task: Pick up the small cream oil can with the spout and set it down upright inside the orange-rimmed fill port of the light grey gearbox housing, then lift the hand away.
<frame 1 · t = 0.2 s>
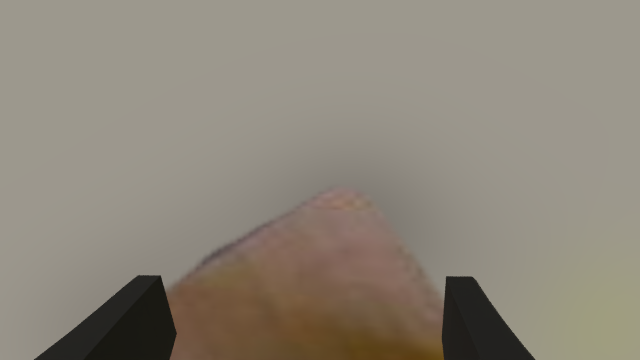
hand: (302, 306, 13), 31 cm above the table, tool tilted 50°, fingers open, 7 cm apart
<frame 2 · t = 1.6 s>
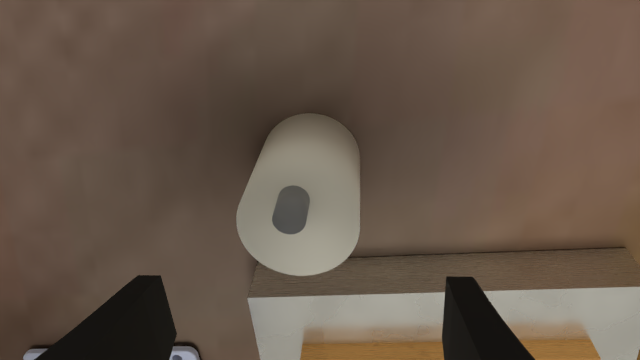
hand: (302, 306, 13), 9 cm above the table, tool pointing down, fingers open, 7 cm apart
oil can: (311, 159, 21), on the table
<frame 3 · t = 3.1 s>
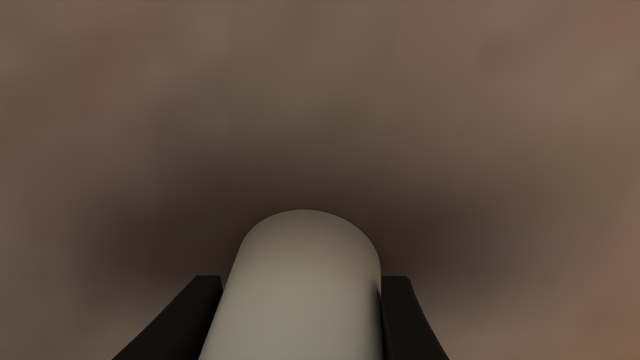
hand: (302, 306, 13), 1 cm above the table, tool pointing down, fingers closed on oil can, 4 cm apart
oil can: (308, 270, 14), on the table, touching gripper
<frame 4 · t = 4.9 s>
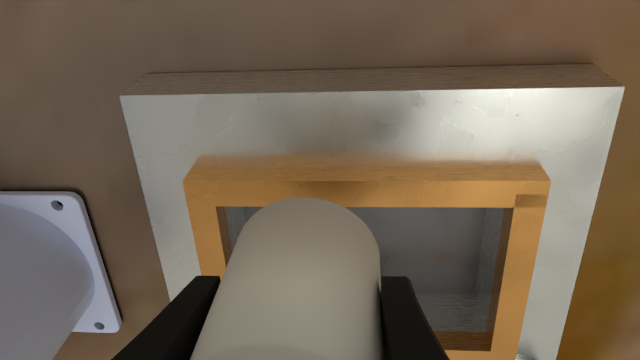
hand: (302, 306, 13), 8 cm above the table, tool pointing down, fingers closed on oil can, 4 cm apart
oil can: (307, 259, 14), point 7 cm above the table, touching gripper
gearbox: (362, 229, 22), on the table
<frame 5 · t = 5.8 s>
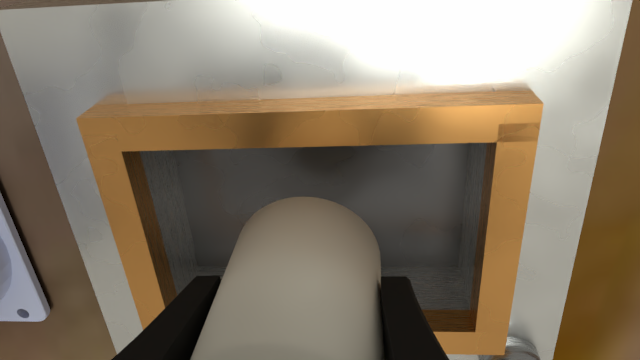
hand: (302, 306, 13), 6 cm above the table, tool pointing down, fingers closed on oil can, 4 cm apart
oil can: (307, 259, 14), point 4 cm above the table, touching gripper
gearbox: (320, 189, 18), on the table
when the fingers open (4 cm above the table, at t = 6.7 s): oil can drops 2 cm, resting on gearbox.
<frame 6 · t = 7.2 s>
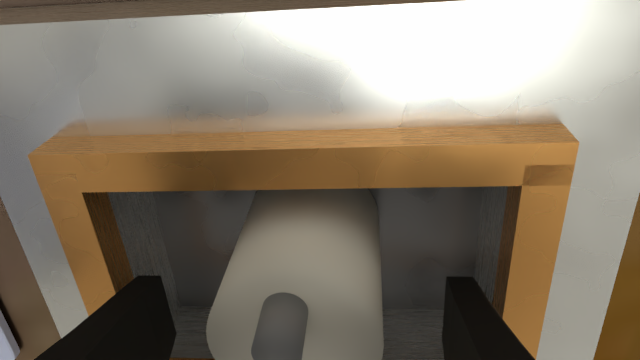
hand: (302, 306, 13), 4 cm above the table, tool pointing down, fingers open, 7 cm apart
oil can: (314, 220, 16), resting on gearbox
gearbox: (315, 224, 16), on the table
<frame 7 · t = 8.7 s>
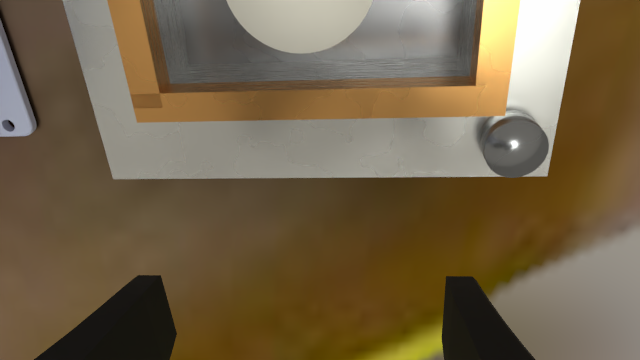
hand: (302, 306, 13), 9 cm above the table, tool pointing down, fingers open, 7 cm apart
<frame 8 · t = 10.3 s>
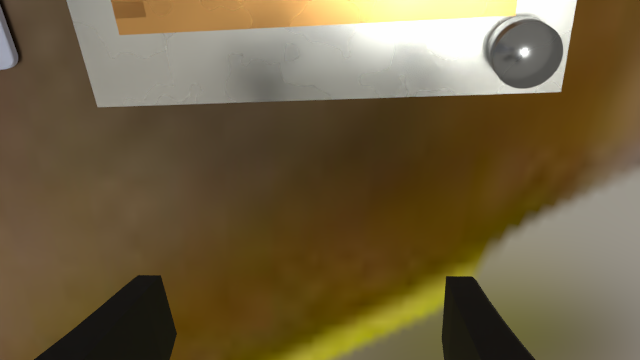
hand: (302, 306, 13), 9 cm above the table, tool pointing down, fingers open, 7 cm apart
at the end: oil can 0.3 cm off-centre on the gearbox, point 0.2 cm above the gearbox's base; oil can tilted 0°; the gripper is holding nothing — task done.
